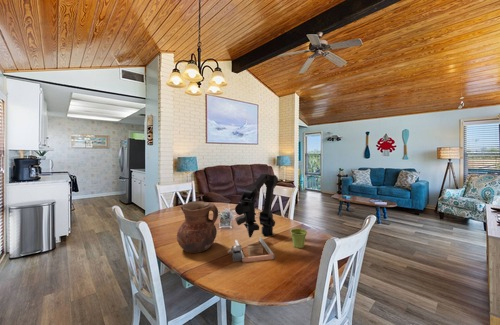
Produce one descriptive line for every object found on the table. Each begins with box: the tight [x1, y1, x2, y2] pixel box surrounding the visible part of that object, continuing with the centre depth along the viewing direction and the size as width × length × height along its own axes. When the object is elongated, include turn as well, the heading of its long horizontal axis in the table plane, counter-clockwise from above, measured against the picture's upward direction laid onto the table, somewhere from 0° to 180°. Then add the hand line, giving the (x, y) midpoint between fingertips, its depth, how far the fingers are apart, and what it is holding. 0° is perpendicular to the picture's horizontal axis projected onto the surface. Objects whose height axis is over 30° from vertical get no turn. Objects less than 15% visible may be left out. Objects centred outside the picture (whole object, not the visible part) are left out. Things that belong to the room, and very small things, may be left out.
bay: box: [234, 237, 275, 263], centre depth 119 cm, size 16×23×2 cm
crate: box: [246, 242, 264, 257], centre depth 115 cm, size 7×6×4 cm
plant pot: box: [290, 228, 308, 249], centre depth 125 cm, size 9×9×9 cm
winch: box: [227, 244, 243, 262], centre depth 108 cm, size 7×6×7 cm
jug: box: [176, 200, 219, 254], centre depth 122 cm, size 22×21×25 cm
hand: (249, 237), depth 126 cm, fingers closed
